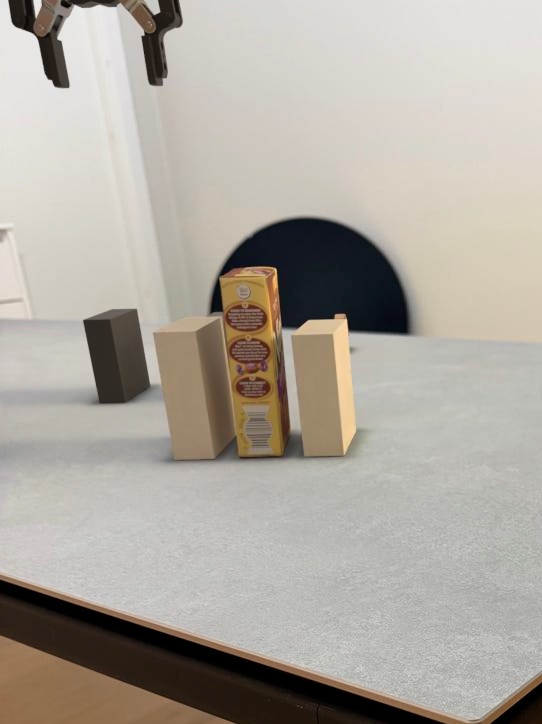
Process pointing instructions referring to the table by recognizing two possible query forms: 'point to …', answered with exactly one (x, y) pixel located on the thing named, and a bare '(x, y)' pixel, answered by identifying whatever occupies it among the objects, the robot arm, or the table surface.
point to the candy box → (256, 360)
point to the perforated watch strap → (341, 316)
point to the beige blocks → (214, 395)
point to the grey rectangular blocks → (120, 354)
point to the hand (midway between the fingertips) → (109, 86)
